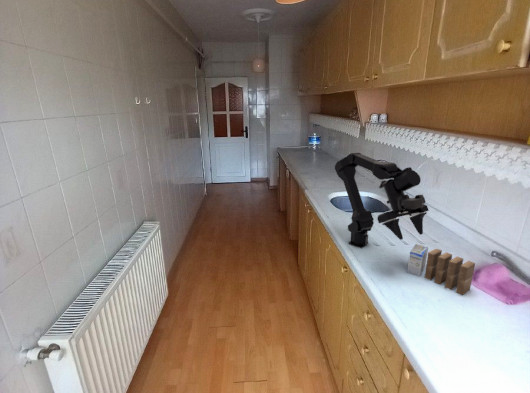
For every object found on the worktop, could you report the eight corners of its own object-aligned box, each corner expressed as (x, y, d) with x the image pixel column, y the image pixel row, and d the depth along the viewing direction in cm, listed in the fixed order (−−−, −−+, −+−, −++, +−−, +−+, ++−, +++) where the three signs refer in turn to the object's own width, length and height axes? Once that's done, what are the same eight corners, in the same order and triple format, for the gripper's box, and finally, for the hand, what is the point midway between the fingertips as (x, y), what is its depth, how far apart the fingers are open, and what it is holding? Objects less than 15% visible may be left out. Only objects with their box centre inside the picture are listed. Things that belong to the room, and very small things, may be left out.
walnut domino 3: (444, 287, 100) (449, 260, 97) (452, 281, 102) (456, 256, 99) (451, 290, 98) (455, 263, 95) (458, 284, 101) (463, 258, 98)
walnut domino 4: (455, 292, 97) (460, 265, 94) (463, 286, 100) (468, 260, 97) (462, 295, 95) (467, 268, 92) (470, 289, 98) (475, 263, 95)
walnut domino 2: (434, 282, 103) (438, 256, 100) (441, 277, 105) (446, 252, 102) (440, 285, 101) (444, 259, 98) (448, 280, 104) (452, 254, 101)
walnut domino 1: (424, 277, 106) (428, 252, 102) (432, 272, 108) (435, 248, 105) (430, 280, 104) (434, 254, 101) (437, 275, 106) (441, 250, 103)
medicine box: (412, 263, 115) (415, 243, 112) (425, 267, 112) (428, 246, 109) (406, 272, 109) (409, 251, 106) (420, 276, 106) (423, 255, 104)
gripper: (390, 191, 97) (408, 237, 93) (432, 184, 104) (450, 226, 100) (370, 201, 107) (385, 243, 103) (408, 194, 114) (424, 233, 110)
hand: (411, 236), depth 104 cm, fingers open, 9 cm apart
